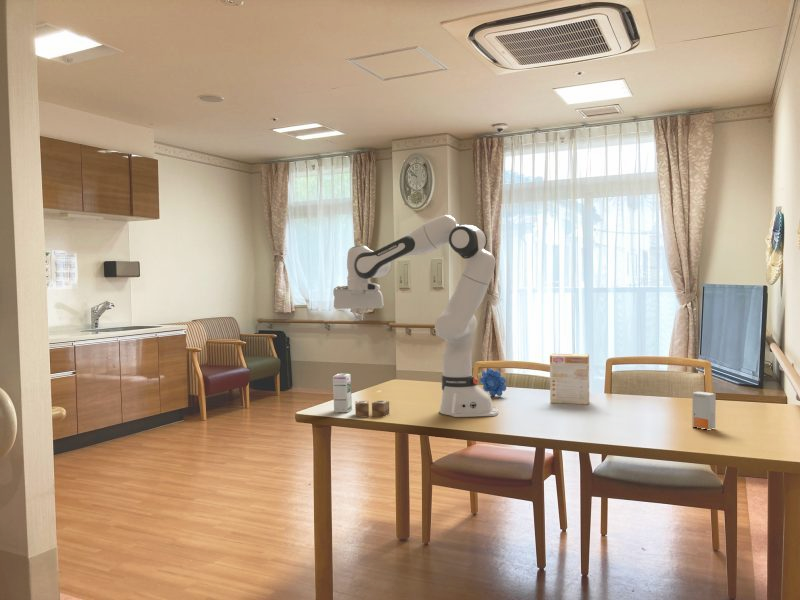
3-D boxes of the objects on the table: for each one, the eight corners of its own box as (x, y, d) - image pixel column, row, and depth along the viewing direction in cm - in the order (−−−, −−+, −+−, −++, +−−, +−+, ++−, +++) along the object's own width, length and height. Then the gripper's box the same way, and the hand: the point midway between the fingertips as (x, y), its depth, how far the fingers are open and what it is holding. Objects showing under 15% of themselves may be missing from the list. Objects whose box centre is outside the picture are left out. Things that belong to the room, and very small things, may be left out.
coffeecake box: (589, 401, 266) (589, 354, 265) (588, 405, 259) (587, 356, 258) (552, 399, 271) (552, 353, 270) (549, 402, 265) (549, 355, 264)
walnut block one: (368, 413, 250) (368, 400, 249) (368, 416, 245) (368, 402, 244) (355, 414, 249) (355, 400, 249) (355, 417, 244) (355, 403, 244)
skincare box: (691, 427, 219) (691, 392, 219) (698, 425, 222) (698, 391, 221) (709, 431, 214) (709, 395, 214) (716, 429, 217) (716, 393, 216)
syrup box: (348, 412, 252) (347, 375, 251) (333, 412, 253) (332, 375, 252) (352, 409, 257) (351, 373, 257) (337, 409, 258) (336, 373, 258)
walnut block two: (389, 414, 249) (389, 400, 248) (384, 416, 244) (384, 402, 244) (377, 413, 250) (377, 399, 250) (372, 416, 246) (371, 402, 246)
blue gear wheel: (477, 397, 279) (476, 369, 279) (482, 394, 285) (481, 367, 285) (503, 398, 274) (503, 370, 274) (507, 396, 280) (507, 368, 280)
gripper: (331, 286, 262) (332, 320, 263) (381, 285, 260) (382, 320, 261) (334, 286, 269) (335, 319, 269) (383, 285, 266) (384, 319, 267)
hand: (358, 319), depth 265 cm, fingers closed
